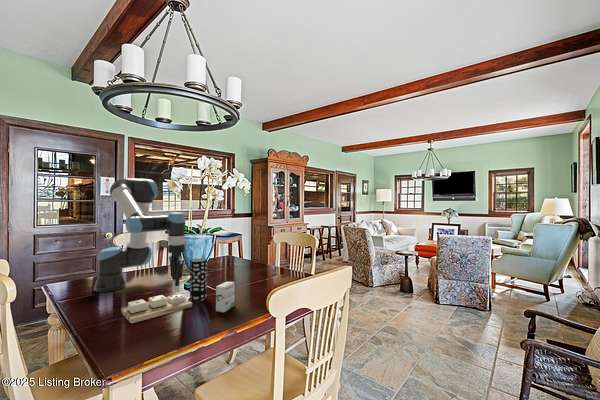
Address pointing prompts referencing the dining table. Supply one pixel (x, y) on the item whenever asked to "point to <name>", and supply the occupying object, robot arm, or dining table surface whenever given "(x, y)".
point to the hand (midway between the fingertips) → (175, 291)
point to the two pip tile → (157, 301)
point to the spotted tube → (198, 279)
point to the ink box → (225, 296)
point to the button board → (155, 311)
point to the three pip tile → (176, 299)
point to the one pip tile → (137, 306)
